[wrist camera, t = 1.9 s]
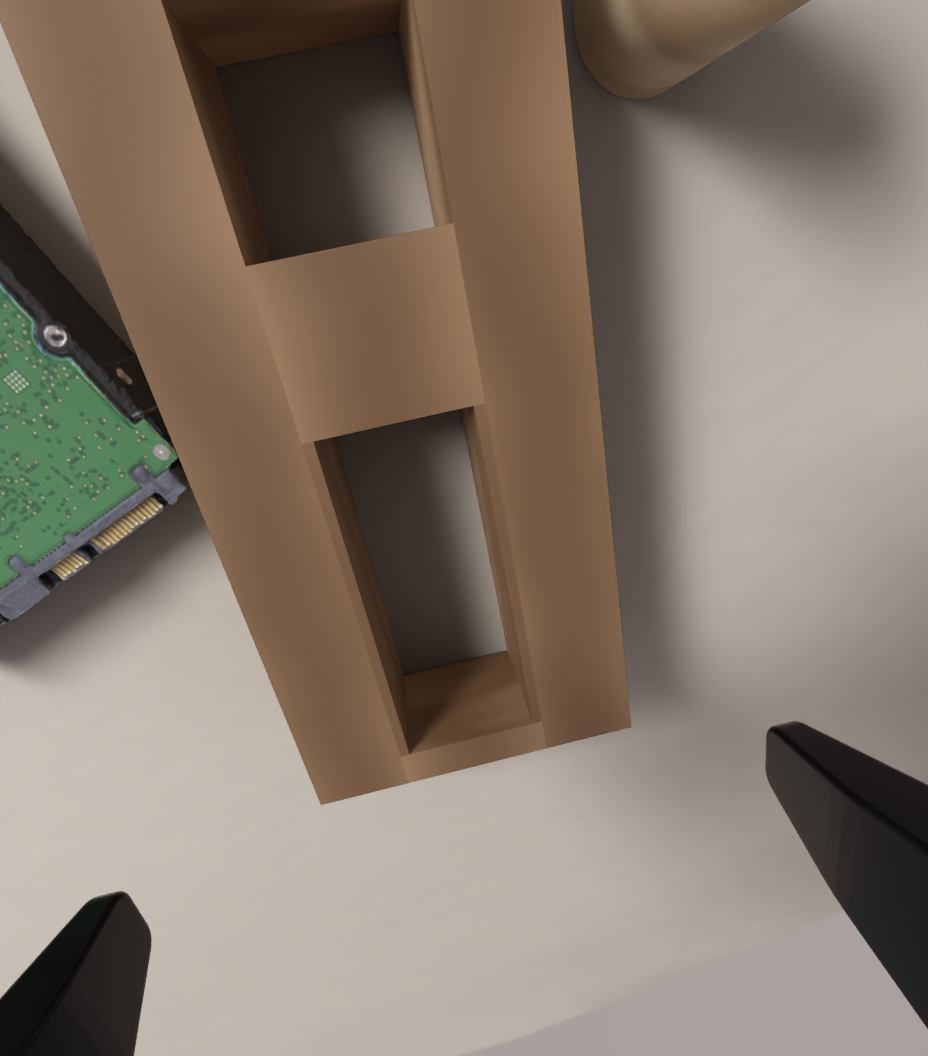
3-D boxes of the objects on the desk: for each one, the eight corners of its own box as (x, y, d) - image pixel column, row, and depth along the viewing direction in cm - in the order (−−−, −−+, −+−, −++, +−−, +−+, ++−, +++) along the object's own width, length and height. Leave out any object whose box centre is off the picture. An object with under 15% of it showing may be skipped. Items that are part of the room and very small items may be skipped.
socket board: (498, -80, 12) (541, -204, 9) (591, 655, 20) (631, 726, 17) (64, 0, 12) (-50, -100, 9) (330, 719, 20) (321, 805, 17)
